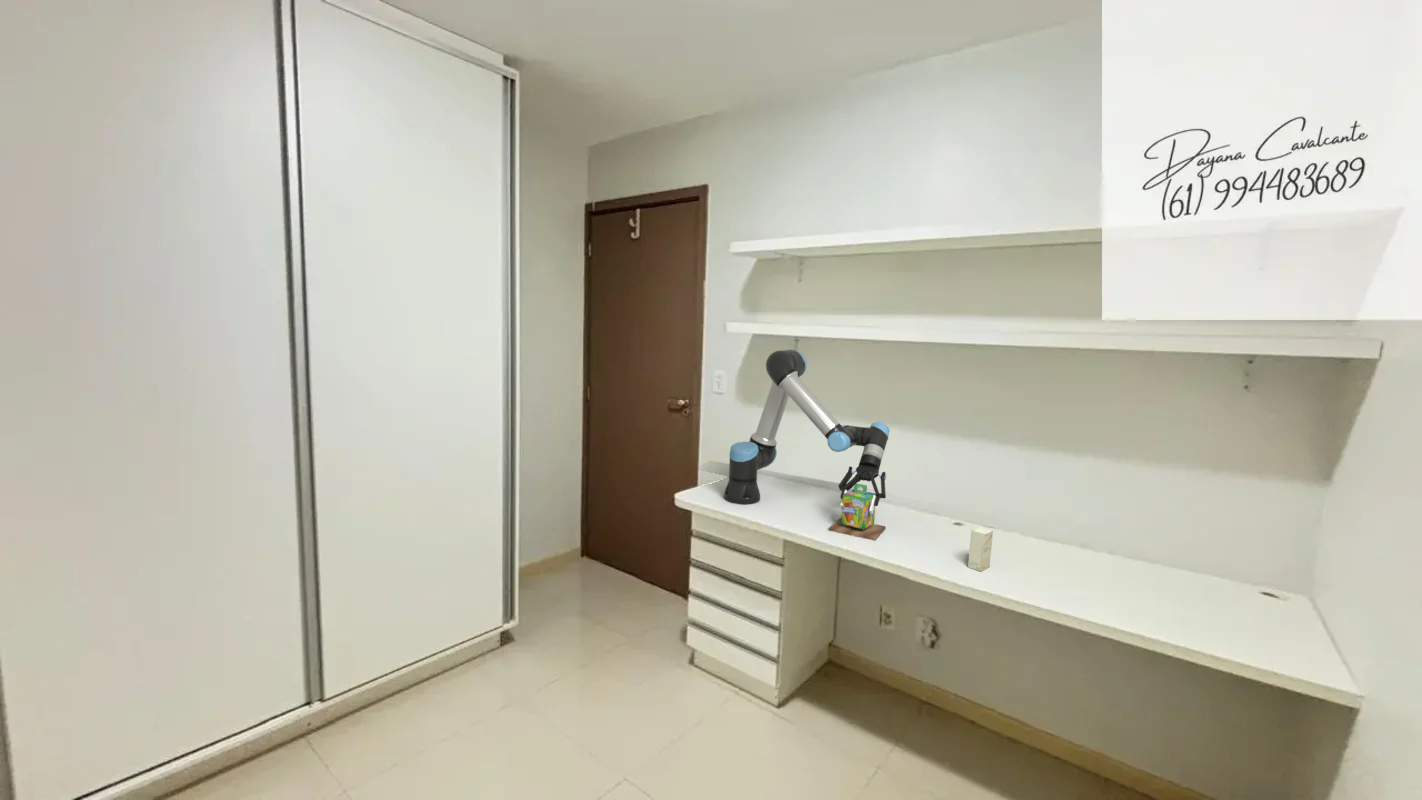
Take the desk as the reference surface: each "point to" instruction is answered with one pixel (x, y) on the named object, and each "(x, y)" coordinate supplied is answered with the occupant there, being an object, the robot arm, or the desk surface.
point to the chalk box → (857, 508)
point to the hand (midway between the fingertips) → (856, 509)
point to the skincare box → (980, 548)
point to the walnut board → (858, 530)
